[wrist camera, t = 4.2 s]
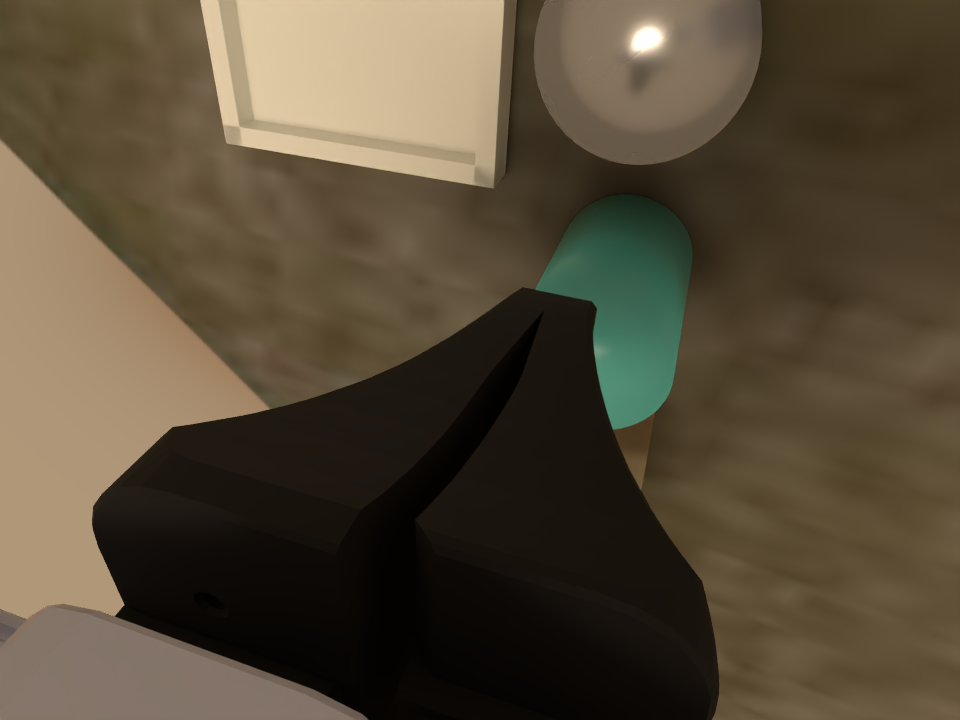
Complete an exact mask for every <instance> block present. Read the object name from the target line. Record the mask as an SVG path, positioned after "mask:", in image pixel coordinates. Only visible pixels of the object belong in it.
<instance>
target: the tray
mask: <svg viewBox="0 0 960 720" xmlns="http://www.w3.org/2000/svg"><path fill="white" fill-rule="evenodd" d="M200 1H201V6H202V12H203V17H204V23H205V28H206V34H207V39H208V45H209V50H210V56H211V61H212V67H213V72H214V78H215V83H216V89H217V94H218V100H219V105H220V111H221V116H222V122H223V127H224V133H225V138H226V143H228V144H234V145H240V146H246V147H252V148H258V149H264V150H270V151H275V152H281V153H287V154H293V155H299V156H305V157H311V158H317V159H323V160H328V161H334V162H340V163H346V164H352V165H358V166H364V167H370V168H376V169H381V170H387V171H393V172H399V173H405V174H411V175H417V176H423V177H429V178H435V179H440V180H446V181H452V182H458V183H464V184H470V185H476V186H482V187H488V188H493V189H494V187H495V186H496V185H497V184H498V183H499V181H500V180H501V179H502V178H503V176H504V175H505V171H506V156H507V141H508V126H509V112H510V97H511V82H512V67H513V52H514V37H515V22H516V7H517V0H200Z"/></svg>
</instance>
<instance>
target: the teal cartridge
mask: <svg viewBox="0 0 960 720" xmlns="http://www.w3.org/2000/svg"><path fill="white" fill-rule="evenodd" d="M692 262H693V250H692V244H691V240H690V237H689V234H688V232H687V230H686V228H685V227H684V225H683V223H682V222H681V221H680V219H679V218H678V217H677V216H676V215H675V214H674V213H673V212H672V211H671V210H669V209H668V208H667V207H665V206H664V205H662V204H660V203H658V202H656V201H654V200H652V199H649V198H646V197H642V196H638V195H629V194H625V195H613V196H608V197H605V198H601V199H599V200H597V201H594V202H592V203H591V204H589V205H587V206H586V207H585V208H583V209H582V210H581V211H580V212H579V213H578V214H577V215H576V216H575V217H574V218H573V220H572V221H571V222H570V224H569V226H568V228H567V230H566V232H565V233H564V235H563V237H562V239H561V241H560V243H559V245H558V247H557V249H556V251H555V252H554V254H553V256H552V258H551V260H550V262H549V264H548V266H547V268H546V270H545V272H544V273H543V275H542V277H541V279H540V281H539V283H538V285H537V287H536V289H535V290H539V291H544V292H549V293H554V294H559V295H564V296H568V297H573V298H578V299H583V300H588V301H592V302H593V303H594V305H595V306H596V308H597V313H596V319H595V325H594V330H593V343H594V354H595V360H596V366H597V373H598V378H599V383H600V387H601V391H602V395H603V399H604V403H605V407H606V410H607V413H608V416H609V419H610V423H611V425H612V428H613V429H620V428H624V427H628V426H631V425H634V424H637V423H639V422H641V421H643V420H645V419H646V418H648V417H649V416H651V415H652V414H653V413H654V412H655V411H657V410H658V409H659V408H660V406H661V405H662V404H663V403H664V401H665V400H666V398H667V396H668V395H669V393H670V390H671V387H672V385H673V379H674V374H675V367H676V361H677V355H678V349H679V343H680V336H681V330H682V324H683V318H684V311H685V305H686V299H687V293H688V287H689V280H690V274H691V268H692Z"/></svg>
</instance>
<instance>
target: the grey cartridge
mask: <svg viewBox="0 0 960 720" xmlns="http://www.w3.org/2000/svg"><path fill="white" fill-rule="evenodd" d="M761 46H762V13H761V0H545V2H544V4H543V7H542V10H541V12H540V16H539V19H538V23H537V27H536V34H535V41H534V65H535V74H536V78H537V83H538V87H539V90H540V93H541V96H542V99H543V101H544V103H545V105H546V107H547V109H548V111H549V113H550V115H551V116H552V118H553V119H554V121H555V122H556V124H557V125H558V126H559V127H560V128H561V130H562V131H563V132H564V133H565V134H566V135H567V136H568V137H569V138H570V139H571V140H573V141H574V142H575V143H576V144H578V145H579V146H580V147H582V148H583V149H585V150H586V151H588V152H590V153H592V154H594V155H596V156H598V157H601V158H604V159H606V160H609V161H613V162H618V163H622V164H632V165H647V164H656V163H662V162H666V161H669V160H673V159H676V158H679V157H681V156H683V155H686V154H688V153H690V152H692V151H694V150H696V149H697V148H699V147H701V146H702V145H704V144H705V143H707V142H708V141H709V140H711V139H712V138H713V137H715V136H716V135H717V134H718V133H719V132H720V131H721V130H722V129H723V128H724V127H725V126H726V125H727V124H728V123H729V122H730V120H731V119H732V118H733V117H734V115H735V114H736V113H737V112H738V110H739V108H740V107H741V105H742V104H743V102H744V101H745V99H746V97H747V95H748V93H749V91H750V88H751V86H752V84H753V81H754V78H755V75H756V72H757V69H758V65H759V60H760V55H761Z"/></svg>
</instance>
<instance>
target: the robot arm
mask: <svg viewBox="0 0 960 720" xmlns="http://www.w3.org/2000/svg"><path fill="white" fill-rule="evenodd" d="M596 313H597V308H596V306H595V305H594V303H593V302H592V301H588V300H583V299H578V298H573V297H568V296H564V295H559V294H554V293H549V292H544V291H539V290H534V289H529V288H524V287H523V288H521V289H519V290H518V291H516V292H515V293H513V294H512V295H510V296H509V297H508V298H506V299H505V300H503V301H502V302H501V303H499V304H498V305H496V306H495V307H494V308H492V309H491V310H489V311H488V312H486V313H485V314H484V315H482V316H481V317H479V318H478V319H476V320H475V321H473V322H472V323H470V324H469V325H467V326H466V327H464V328H463V329H461V330H460V331H458V332H457V333H455V334H454V335H452V336H451V337H449V338H447V339H446V340H444V341H442V342H440V343H439V344H437V345H435V346H433V347H432V348H430V349H428V350H427V351H425V352H423V353H421V354H420V355H418V356H416V357H414V358H412V359H410V360H408V361H406V362H404V363H402V364H400V365H398V366H396V367H394V368H391V369H389V370H387V371H384V372H382V373H380V374H378V375H375V376H373V377H371V378H368V379H366V380H363V381H361V382H358V383H355V384H352V385H349V386H346V387H343V388H341V389H338V390H335V391H332V392H329V393H326V394H323V395H321V396H318V397H315V398H311V399H308V400H304V401H301V402H297V403H293V404H290V405H286V406H282V407H278V408H274V409H270V410H266V411H262V412H257V413H253V414H248V415H244V416H238V417H232V418H226V419H221V420H215V421H209V422H203V423H197V424H191V425H185V426H178V427H172V428H171V429H170V430H169V431H168V432H167V433H166V434H164V435H163V436H162V437H161V438H160V439H159V440H158V441H157V442H156V443H155V444H154V445H153V446H152V447H151V448H150V449H149V450H148V451H147V452H145V453H144V454H143V455H142V456H141V457H140V458H139V459H138V460H137V461H136V462H135V463H134V464H133V465H132V466H131V467H130V468H129V469H128V470H127V471H125V472H124V473H123V474H122V475H121V476H120V477H119V478H118V479H117V480H116V481H115V482H114V483H113V484H112V485H111V486H110V487H109V488H108V489H107V490H106V491H105V492H104V493H103V494H102V495H101V496H100V497H99V499H98V500H97V502H96V503H95V505H94V506H93V517H92V526H93V531H94V534H95V538H96V541H97V544H98V547H99V549H100V551H101V554H102V556H103V558H104V560H105V562H106V564H107V567H108V569H109V571H110V574H111V576H112V578H113V580H114V582H115V585H116V587H117V589H118V591H119V593H120V596H121V598H122V600H123V602H124V604H125V605H124V606H123V607H122V609H121V610H120V611H119V612H118V613H117V614H116V616H115V617H114V616H111V615H109V614H106V613H103V612H100V611H96V610H91V609H86V608H81V607H76V606H71V605H66V604H60V605H51V606H47V607H45V608H43V609H42V610H40V611H38V612H37V613H35V614H33V615H32V616H30V617H29V618H28V619H25V618H22V617H19V616H17V615H14V614H12V613H9V612H6V611H4V610H1V609H0V720H712V718H713V716H714V714H715V710H716V706H717V702H718V696H719V673H718V662H717V652H716V645H715V638H714V632H713V627H712V622H711V617H710V612H709V608H708V604H707V600H706V595H705V591H704V587H703V583H702V581H701V579H700V578H699V577H698V576H697V574H696V573H695V572H694V570H693V569H692V568H691V566H690V565H689V564H688V563H687V561H686V560H685V559H684V557H683V556H682V555H681V553H680V552H679V551H678V549H677V548H676V546H675V545H674V544H673V542H672V541H671V539H670V538H669V536H668V535H667V533H666V532H665V530H664V529H663V527H662V526H661V524H660V522H659V521H658V519H657V518H656V516H655V515H654V513H653V511H652V510H651V508H650V506H649V504H648V503H647V501H646V499H645V497H644V495H643V493H642V491H641V490H640V488H639V486H638V484H637V482H636V480H635V478H634V477H633V475H632V473H631V471H630V469H629V467H628V465H627V463H626V460H625V458H624V456H623V453H622V451H621V449H620V446H619V444H618V441H617V439H616V436H615V434H614V431H613V428H612V425H611V423H610V419H609V416H608V413H607V410H606V407H605V403H604V399H603V395H602V391H601V387H600V383H599V378H598V373H597V366H596V360H595V354H594V343H593V330H594V325H595V319H596Z"/></svg>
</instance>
